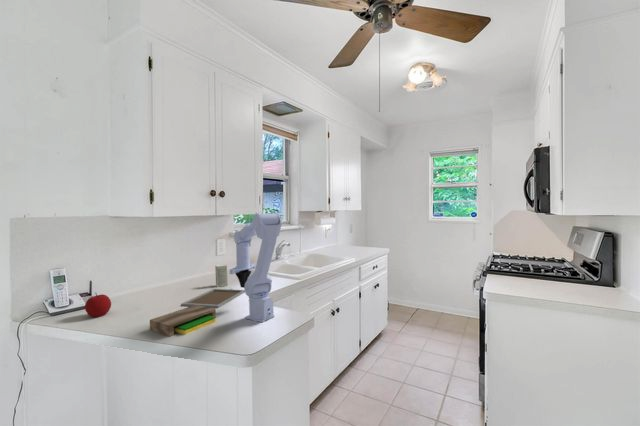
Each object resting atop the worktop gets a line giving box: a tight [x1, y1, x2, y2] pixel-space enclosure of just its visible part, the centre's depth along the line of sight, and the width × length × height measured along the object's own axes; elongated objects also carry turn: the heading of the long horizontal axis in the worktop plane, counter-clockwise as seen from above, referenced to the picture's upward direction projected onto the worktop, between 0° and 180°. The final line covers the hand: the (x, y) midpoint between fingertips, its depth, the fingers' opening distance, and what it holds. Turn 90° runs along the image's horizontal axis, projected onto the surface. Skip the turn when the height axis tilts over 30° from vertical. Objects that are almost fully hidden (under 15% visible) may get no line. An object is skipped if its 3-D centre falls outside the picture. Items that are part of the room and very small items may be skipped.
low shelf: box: [149, 305, 217, 337], centre depth 114 cm, size 12×20×4 cm, turn 150°
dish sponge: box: [174, 315, 216, 335], centre depth 112 cm, size 7×14×2 cm, turn 151°
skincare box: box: [215, 264, 229, 288], centre depth 174 cm, size 6×4×12 cm
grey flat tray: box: [180, 288, 245, 309], centre depth 150 cm, size 19×2×30 cm
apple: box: [84, 292, 112, 318], centre depth 126 cm, size 9×9×10 cm
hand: (243, 287), depth 133 cm, fingers closed
